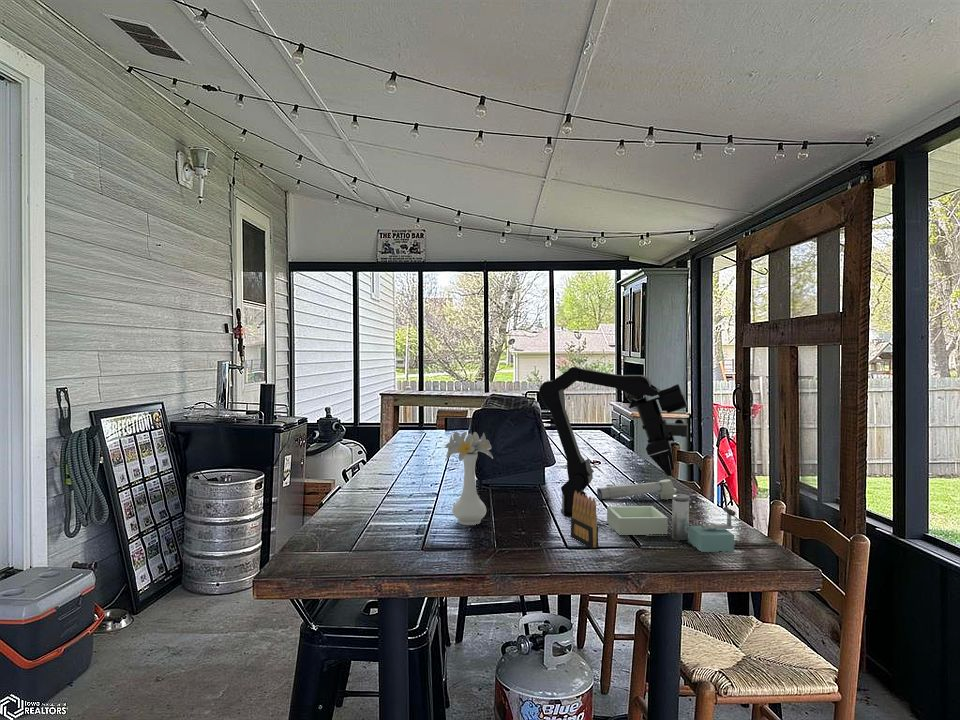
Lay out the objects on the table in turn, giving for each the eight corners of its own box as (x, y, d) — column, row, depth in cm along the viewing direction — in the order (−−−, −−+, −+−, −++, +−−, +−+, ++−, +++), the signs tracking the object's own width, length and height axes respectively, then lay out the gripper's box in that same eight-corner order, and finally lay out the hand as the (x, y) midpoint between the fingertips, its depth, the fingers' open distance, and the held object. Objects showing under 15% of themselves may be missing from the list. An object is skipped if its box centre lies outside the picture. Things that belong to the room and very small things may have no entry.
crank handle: (707, 532, 162) (707, 511, 162) (698, 526, 167) (699, 506, 167) (736, 531, 162) (736, 511, 162) (727, 526, 168) (727, 506, 167)
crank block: (700, 552, 161) (701, 535, 160) (688, 542, 168) (688, 526, 168) (733, 551, 161) (734, 534, 161) (720, 541, 169) (720, 525, 169)
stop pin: (675, 541, 169) (675, 497, 169) (669, 536, 173) (669, 493, 173) (691, 541, 169) (692, 497, 169) (685, 536, 174) (686, 493, 173)
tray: (619, 535, 174) (619, 518, 174) (606, 522, 186) (607, 506, 186) (667, 535, 174) (667, 517, 174) (652, 522, 187) (652, 506, 187)
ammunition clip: (598, 548, 163) (599, 498, 163) (591, 549, 163) (592, 499, 162) (576, 536, 173) (577, 489, 173) (570, 537, 173) (570, 490, 172)
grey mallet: (595, 485, 217) (671, 474, 219) (598, 506, 217) (673, 494, 219) (599, 489, 212) (677, 477, 214) (602, 510, 212) (679, 498, 214)
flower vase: (483, 512, 197) (484, 426, 196) (498, 530, 178) (498, 435, 178) (439, 514, 194) (439, 427, 193) (449, 532, 176) (449, 436, 175)
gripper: (678, 412, 177) (699, 470, 175) (682, 406, 194) (701, 459, 193) (637, 425, 180) (657, 482, 179) (644, 418, 198) (663, 470, 196)
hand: (671, 472), depth 187 cm, fingers open, 9 cm apart
